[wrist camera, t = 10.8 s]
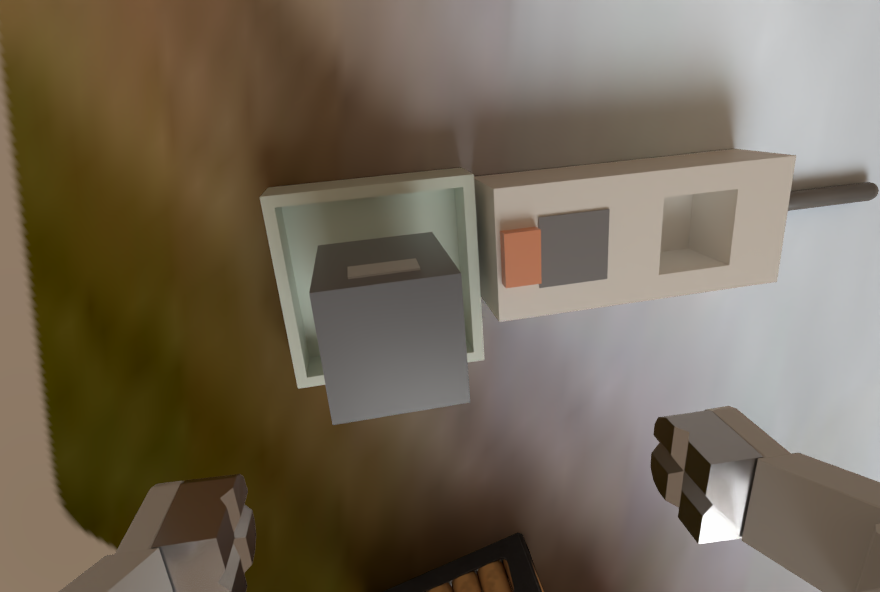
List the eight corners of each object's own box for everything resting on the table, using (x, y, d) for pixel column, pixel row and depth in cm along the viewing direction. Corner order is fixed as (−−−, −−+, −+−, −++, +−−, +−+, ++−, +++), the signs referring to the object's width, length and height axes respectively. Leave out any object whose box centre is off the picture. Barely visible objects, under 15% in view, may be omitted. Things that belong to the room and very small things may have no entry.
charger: (422, 216, 25) (461, 270, 17) (431, 311, 27) (470, 402, 19) (320, 228, 24) (308, 291, 16) (336, 324, 26) (332, 425, 18)
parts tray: (460, 167, 25) (473, 174, 23) (471, 337, 28) (484, 359, 26) (268, 187, 24) (259, 196, 22) (302, 362, 27) (297, 388, 25)
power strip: (877, 133, 28) (971, 138, 24) (855, 241, 31) (938, 263, 26) (471, 177, 25) (497, 191, 21) (478, 292, 28) (503, 327, 23)
